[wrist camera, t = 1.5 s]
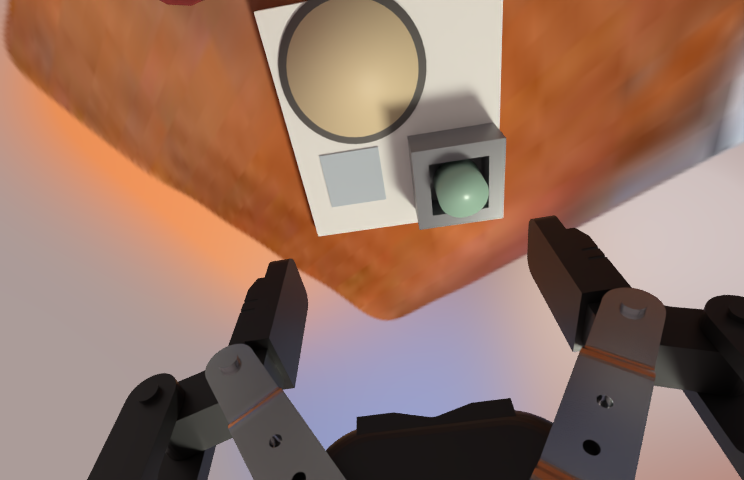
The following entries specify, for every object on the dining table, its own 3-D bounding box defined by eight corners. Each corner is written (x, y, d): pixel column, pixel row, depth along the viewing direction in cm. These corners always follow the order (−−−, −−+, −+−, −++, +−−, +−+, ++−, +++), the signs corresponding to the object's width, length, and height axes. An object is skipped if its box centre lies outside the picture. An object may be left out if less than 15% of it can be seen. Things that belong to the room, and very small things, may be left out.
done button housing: (407, 136, 32) (411, 152, 29) (493, 122, 32) (506, 137, 29) (415, 208, 36) (419, 229, 33) (492, 197, 36) (503, 217, 33)
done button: (431, 162, 31) (437, 177, 29) (480, 154, 31) (489, 169, 29) (435, 203, 33) (440, 220, 31) (480, 196, 33) (488, 213, 31)
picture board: (254, 2, 28) (250, 3, 27) (499, -45, 26) (504, -46, 25) (319, 230, 39) (318, 237, 38) (494, 205, 37) (497, 211, 36)
